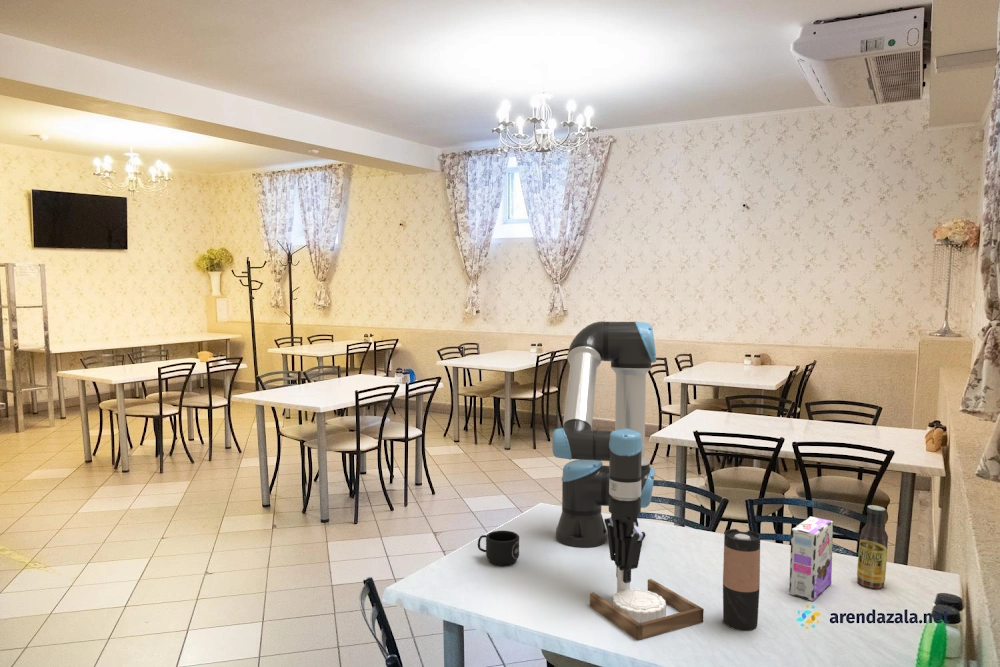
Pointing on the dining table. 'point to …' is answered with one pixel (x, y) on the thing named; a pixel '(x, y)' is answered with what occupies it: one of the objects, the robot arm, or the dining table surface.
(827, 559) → the candy box
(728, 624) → the travel mug
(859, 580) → the sauce bottle
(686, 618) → the wooden u-shaped frame
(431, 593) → the dining table surface
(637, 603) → the mooncake
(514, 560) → the mug
